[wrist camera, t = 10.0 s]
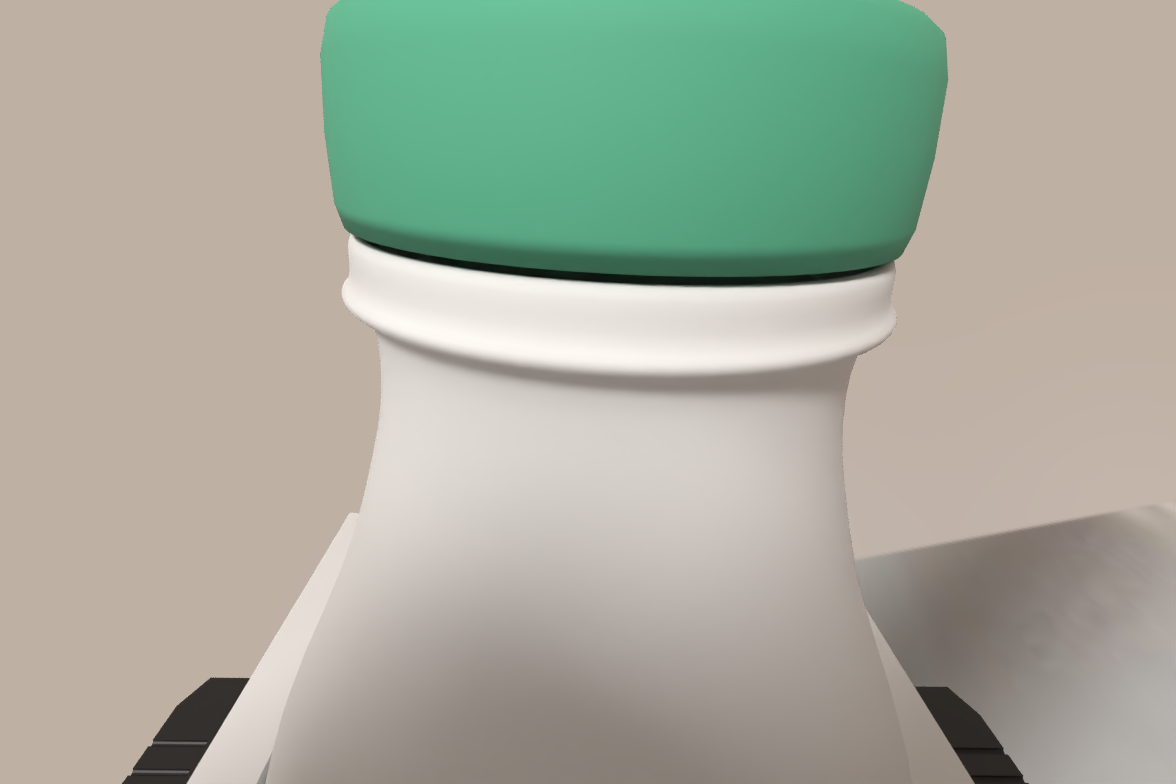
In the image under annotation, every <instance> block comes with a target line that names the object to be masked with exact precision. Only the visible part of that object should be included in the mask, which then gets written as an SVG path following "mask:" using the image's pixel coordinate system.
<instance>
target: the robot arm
mask: <svg viewBox="0 0 1176 784" xmlns="http://www.w3.org/2000/svg"><path fill="white" fill-rule="evenodd" d="M358 516H359V513H350V514H349V515H348V517H347V519H346V520H345V522H344V523H343V525H342V527H341V528H340V530H339V532H338V534H337V535H336V537H335V538H334V540H333V542H332V543H331V545H330V547H329V548H328V550H327V552H326V554H325V555H324V557H323V558H322V560H321V562H320V563H319V565H318V567H317V568H316V570H315V572H314V573H313V575H312V577H311V578H310V580H309V582H308V583H307V585H306V587H305V588H304V590H303V592H302V593H301V595H300V596H299V598H298V600H297V601H296V603H295V605H294V607H293V608H292V610H291V612H290V613H289V615H288V616H287V618H286V620H285V622H284V623H283V625H282V626H281V628H280V630H279V631H278V633H277V635H276V637H275V638H274V640H273V642H272V643H271V645H270V646H269V648H268V650H267V651H266V653H265V655H264V656H263V658H262V660H261V661H260V663H259V665H258V666H257V668H256V670H255V671H254V673H253V675H252V676H251V678H210V679H209V680H208V681H206V682H205V683H204V684H203V685H202V686H200V687H199V688H198V689H197V690H195V691H194V692H193V693H192V694H191V695H189V696H188V697H187V698H186V699H185V700H184V701H182V702H181V703H180V704H179V705H177V707H176V708H175V709H174V711H173V712H172V714H171V715H170V716H169V718H168V719H167V721H166V722H165V723H164V725H163V726H162V728H161V729H160V731H159V732H158V734H157V735H156V736H155V738H154V739H153V744H152V746H149V747H148V748H147V749H146V751H145V752H144V754H143V755H142V756H141V758H140V759H139V760H138V762H137V763H136V765H135V766H134V768H133V773H132V774H131V776H127V778H126V779H125V781H124V782H123V783H122V784H265V783H266V778H267V774H268V769H269V765H270V760H271V756H272V752H273V748H274V744H275V740H276V737H277V733H278V729H279V725H280V721H281V717H282V714H283V711H284V708H285V705H286V702H287V699H288V696H289V694H290V691H291V688H292V685H293V683H294V680H295V678H296V675H297V672H298V670H299V667H300V665H301V662H302V659H303V657H304V654H305V651H306V649H307V647H308V645H309V642H310V640H311V638H312V636H313V633H314V631H315V629H316V626H317V624H318V622H319V620H320V617H321V615H322V613H323V611H324V608H325V606H326V604H327V601H328V599H329V596H330V594H331V592H332V589H333V587H334V585H335V582H336V580H337V578H338V575H339V573H340V570H341V568H342V565H343V562H344V559H345V557H346V554H347V551H348V548H349V546H350V543H351V540H352V537H353V534H354V530H355V527H356V523H357V519H358ZM865 609H866V608H865ZM866 612H867V615H868V618H869V622H870V625H871V628H872V632H873V635H874V638H875V642H876V645H877V648H878V651H879V654H880V658H881V661H882V664H883V667H884V670H885V673H886V677H887V680H888V683H889V686H890V689H891V693H892V697H893V701H894V705H895V708H896V712H897V716H898V720H899V724H900V727H901V731H902V735H903V739H904V743H905V747H906V751H907V755H908V760H909V767H910V774H911V781H912V784H1028V783H1025V782H1024V781H1023V775H1022V774H1021V772H1020V771H1019V770H1018V768H1017V767H1016V765H1015V764H1014V762H1013V761H1012V760H1011V758H1010V757H1009V755H1005V754H1004V751H1003V747H1002V745H1001V744H1000V743H999V741H998V740H997V738H996V737H995V736H994V734H993V733H992V731H991V730H990V728H989V727H988V726H987V724H986V723H985V721H984V720H983V719H982V717H981V716H980V715H979V714H978V713H977V712H976V711H975V710H973V709H972V708H971V707H970V706H969V705H968V704H966V703H965V702H964V701H963V700H962V699H961V698H959V697H958V696H957V695H956V694H955V693H954V692H952V691H951V690H950V689H949V688H948V687H914V685H913V684H912V682H911V680H910V679H909V677H908V676H907V674H906V672H905V671H904V669H903V668H902V666H901V664H900V663H899V661H898V660H897V658H896V656H895V655H894V653H893V651H892V650H891V648H890V647H889V645H888V643H887V642H886V640H885V639H884V637H883V635H882V634H881V632H880V631H879V629H878V627H877V626H876V624H875V623H874V621H873V619H872V618H871V616H870V615H869V613H868V611H867V610H866Z"/></svg>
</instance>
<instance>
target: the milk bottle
mask: <svg viewBox="0 0 1176 784" xmlns="http://www.w3.org/2000/svg"><path fill="white" fill-rule="evenodd" d="M946 51H947V50H946V37H945V35H944V32H943V31H942V30H941V29H940V28H939V27H938V26H937V25H936V24H935V23H934V22H933V21H932V20H931V19H930V18H929V17H928V16H927V15H926V14H925V13H924V12H922V11H920V10H918V9H916V8H915V7H913V6H911V5H908V4H906V3H904V2H901V1H899V0H340V1H338V2H337V3H336V4H335V5H334V6H333V7H332V8H330V10H329V11H328V13H327V16H326V23H325V29H324V35H323V41H322V47H321V53H320V58H321V76H322V95H323V114H324V132H325V139H326V147H327V154H328V161H329V168H330V176H331V182H332V189H333V197H334V203H335V206H336V208H337V211H338V213H339V216H340V218H341V221H342V223H343V226H344V228H345V229H346V230H347V231H348V232H349V233H351V235H350V238H349V242H348V251H349V264H350V273H349V277H348V278H347V279H346V281H345V282H344V285H343V287H342V298H343V301H344V303H345V305H346V307H347V308H348V309H349V310H350V311H351V312H352V313H353V314H354V315H355V316H356V317H357V318H358V319H359V320H360V321H362V322H363V323H365V324H366V325H368V326H369V327H371V328H373V329H375V331H376V335H377V339H378V344H379V351H380V362H381V407H380V416H379V425H378V430H377V435H376V441H375V447H374V452H373V457H372V462H371V466H370V471H369V475H368V480H367V484H366V489H365V493H364V498H363V502H362V505H361V509H360V513H359V516H358V519H357V523H356V527H355V530H354V534H353V537H352V540H351V543H350V546H349V548H348V551H347V554H346V557H345V559H344V562H343V565H342V568H341V570H340V573H339V575H338V578H337V580H336V582H335V585H334V587H333V589H332V592H331V594H330V596H329V599H328V601H327V604H326V606H325V608H324V611H323V613H322V615H321V617H320V620H319V622H318V624H317V626H316V629H315V631H314V633H313V636H312V638H311V640H310V642H309V645H308V647H307V649H306V651H305V654H304V657H303V659H302V662H301V665H300V667H299V670H298V672H297V675H296V678H295V680H294V683H293V685H292V688H291V691H290V694H289V696H288V699H287V702H286V705H285V708H284V711H283V714H282V717H281V721H280V725H279V729H278V733H277V737H276V740H275V744H274V748H273V752H272V756H271V760H270V765H269V769H268V774H267V778H266V783H265V784H912V781H911V774H910V767H909V760H908V755H907V751H906V747H905V743H904V739H903V735H902V731H901V727H900V724H899V720H898V716H897V712H896V708H895V705H894V701H893V697H892V693H891V689H890V686H889V683H888V680H887V677H886V673H885V670H884V667H883V664H882V661H881V658H880V654H879V651H878V648H877V645H876V642H875V638H874V635H873V632H872V628H871V625H870V622H869V618H868V615H867V612H866V609H865V605H864V602H863V598H862V594H861V589H860V585H859V581H858V577H857V573H856V566H855V560H854V554H853V548H852V542H851V536H850V530H849V522H848V513H847V503H846V494H845V485H844V472H843V457H842V435H843V417H844V409H845V400H846V393H847V388H848V383H849V379H850V374H851V371H852V369H853V366H854V363H855V361H856V358H857V356H858V355H861V354H863V353H866V352H867V351H869V350H871V349H873V348H875V347H877V346H878V345H880V344H881V343H882V342H883V341H885V340H886V339H887V338H888V337H889V336H890V335H891V334H892V332H893V330H894V328H895V326H896V324H897V317H896V313H895V310H894V308H893V307H892V305H891V304H890V303H891V302H890V301H891V294H892V290H893V285H894V279H895V272H896V270H895V263H894V260H896V259H898V258H899V257H900V256H901V255H902V253H903V252H904V250H905V248H906V246H907V244H908V243H909V241H910V239H911V237H912V235H913V234H914V232H915V230H916V226H917V222H918V219H919V215H920V211H921V208H922V204H923V200H924V196H925V192H926V189H927V185H928V181H929V178H930V174H931V170H932V166H933V162H934V159H935V153H936V147H937V141H938V135H939V130H940V124H941V118H942V112H943V106H944V100H945V95H946V88H947V83H948V69H947V52H946Z"/></svg>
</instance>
